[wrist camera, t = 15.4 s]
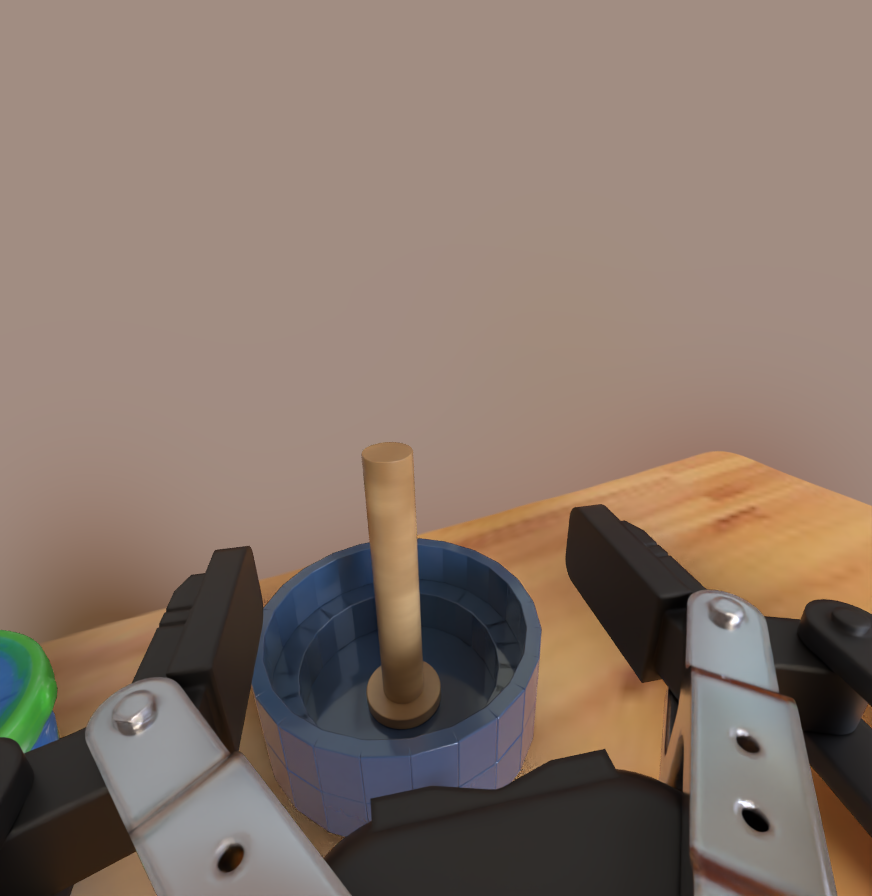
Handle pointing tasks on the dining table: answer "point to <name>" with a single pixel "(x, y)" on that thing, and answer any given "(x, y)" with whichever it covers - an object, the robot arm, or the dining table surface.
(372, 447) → the stirring stick
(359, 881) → the robot arm
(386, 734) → the bowl
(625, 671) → the dining table surface
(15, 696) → the snack cup
